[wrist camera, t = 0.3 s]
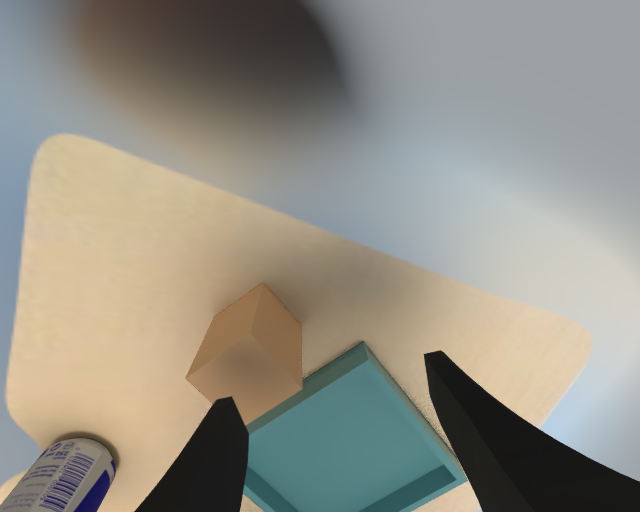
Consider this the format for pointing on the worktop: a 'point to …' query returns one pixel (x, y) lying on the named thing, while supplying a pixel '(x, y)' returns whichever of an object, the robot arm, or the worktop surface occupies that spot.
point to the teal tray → (347, 445)
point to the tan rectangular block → (250, 355)
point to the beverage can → (64, 479)
